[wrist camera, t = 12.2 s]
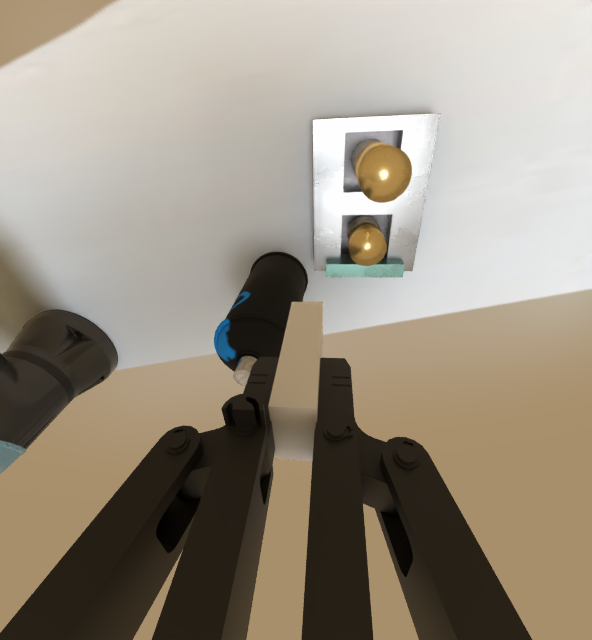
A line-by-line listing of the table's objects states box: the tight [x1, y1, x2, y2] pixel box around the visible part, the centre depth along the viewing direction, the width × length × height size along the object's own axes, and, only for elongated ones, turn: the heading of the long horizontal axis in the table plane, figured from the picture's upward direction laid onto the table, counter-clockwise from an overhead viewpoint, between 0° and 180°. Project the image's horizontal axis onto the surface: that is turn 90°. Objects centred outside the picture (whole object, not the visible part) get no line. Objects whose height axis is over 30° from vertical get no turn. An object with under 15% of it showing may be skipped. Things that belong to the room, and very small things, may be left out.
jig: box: [313, 113, 440, 277], centre depth 33 cm, size 12×16×6 cm
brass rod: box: [352, 139, 412, 203], centre depth 29 cm, size 4×4×12 cm
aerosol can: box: [214, 252, 308, 386], centre depth 35 cm, size 8×8×20 cm
